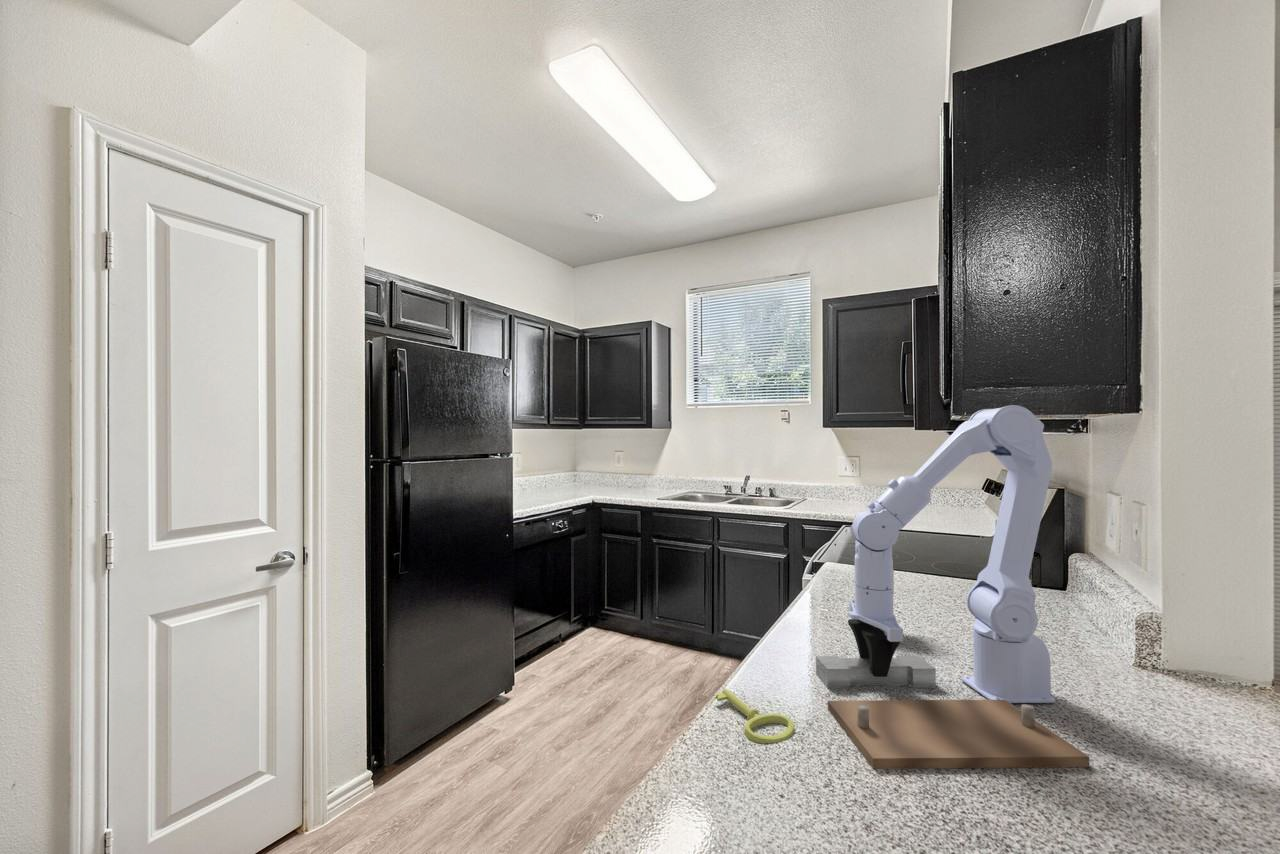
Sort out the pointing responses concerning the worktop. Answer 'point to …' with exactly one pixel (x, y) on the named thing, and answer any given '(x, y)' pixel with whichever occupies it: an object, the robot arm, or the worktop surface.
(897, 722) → the rack board
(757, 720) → the key
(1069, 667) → the worktop surface
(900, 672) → the grey stepped bar
